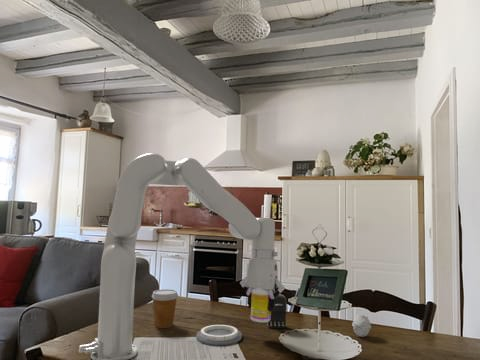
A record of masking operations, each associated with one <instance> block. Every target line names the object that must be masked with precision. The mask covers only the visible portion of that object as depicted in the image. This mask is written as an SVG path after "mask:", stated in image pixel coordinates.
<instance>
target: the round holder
mask: <svg viewBox="0 0 480 360" xmlns="http://www.w3.org/2000/svg"><path fill="white" fill-rule="evenodd" d="M242 337H243V334H242V332H241V331H240V330H239V329H238V328H237V327H236V326H232V325H228V324H212V325H207V326H205V327H202V328H201V329H200V330H199V331H197V332H196V340H197V342H199V343H201V344H204V345H208V346H215V347H216V346H217V347H219V346H220V347H221V346H230V345H234V344H238V343H239V342H241V340H242Z"/></svg>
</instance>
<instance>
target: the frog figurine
mask: <svg viewBox="0 0 480 360" xmlns="http://www.w3.org/2000/svg"><path fill="white" fill-rule="evenodd" d="M351 324H352V325H351V326H352V328H353V332H354V333H355V335H356V336H358V337H361V338H364V337H367V335H368V334H369V332H370V331H371V328H372V325H371V321H370V320H369V319H368V316H367V315H364V314H362V313H360V314H356V316H355V317H354V319H353V320H352V323H351Z"/></svg>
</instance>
